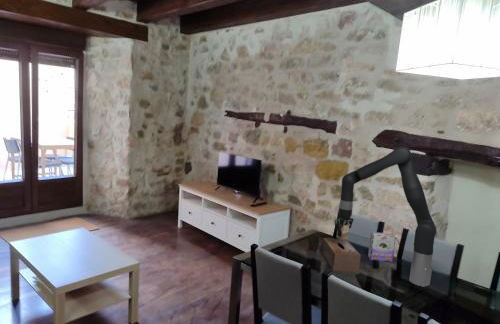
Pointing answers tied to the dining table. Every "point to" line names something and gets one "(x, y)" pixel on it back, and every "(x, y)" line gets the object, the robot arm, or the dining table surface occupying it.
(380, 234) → the candy box
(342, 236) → the oak block
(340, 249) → the tissue box cover
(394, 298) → the dining table surface
